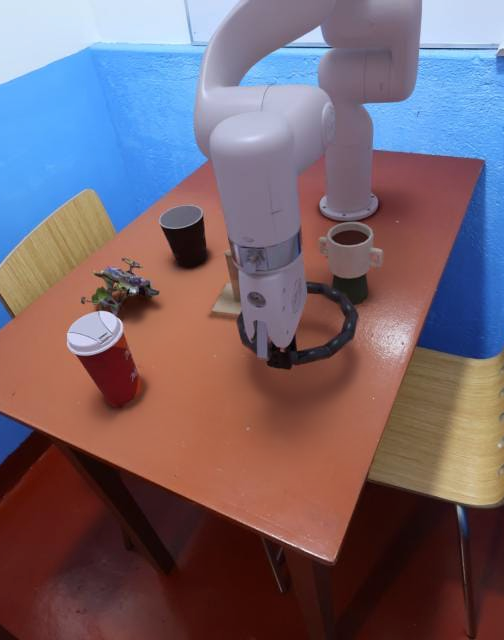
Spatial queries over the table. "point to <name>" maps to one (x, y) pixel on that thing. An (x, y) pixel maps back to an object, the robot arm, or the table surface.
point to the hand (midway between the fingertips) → (282, 358)
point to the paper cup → (105, 356)
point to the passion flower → (120, 286)
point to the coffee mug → (185, 234)
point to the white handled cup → (350, 258)
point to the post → (229, 291)
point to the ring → (330, 346)
